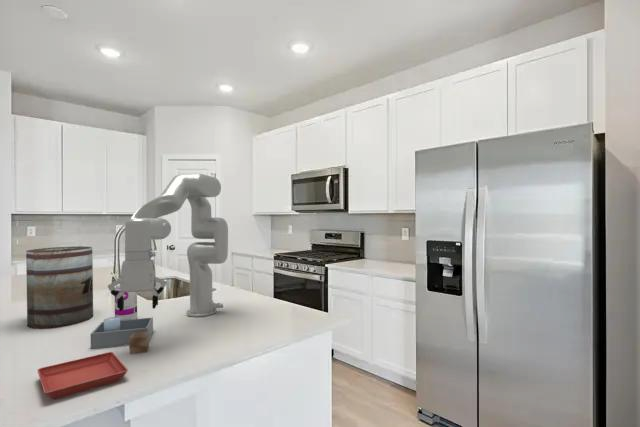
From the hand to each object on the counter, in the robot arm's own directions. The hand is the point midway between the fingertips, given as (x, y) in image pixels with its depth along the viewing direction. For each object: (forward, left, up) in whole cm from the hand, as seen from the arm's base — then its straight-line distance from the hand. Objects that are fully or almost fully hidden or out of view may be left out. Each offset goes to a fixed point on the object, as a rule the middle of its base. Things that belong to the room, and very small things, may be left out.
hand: (138, 308), depth 116 cm
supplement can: (+11, -38, -14) cm, 42 cm away
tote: (+7, -13, -14) cm, 20 cm away
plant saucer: (+11, +18, -14) cm, 25 cm away
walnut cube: (0, 0, -14) cm, 14 cm away
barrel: (+37, -47, -14) cm, 62 cm away
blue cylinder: (+10, -13, -13) cm, 22 cm away
